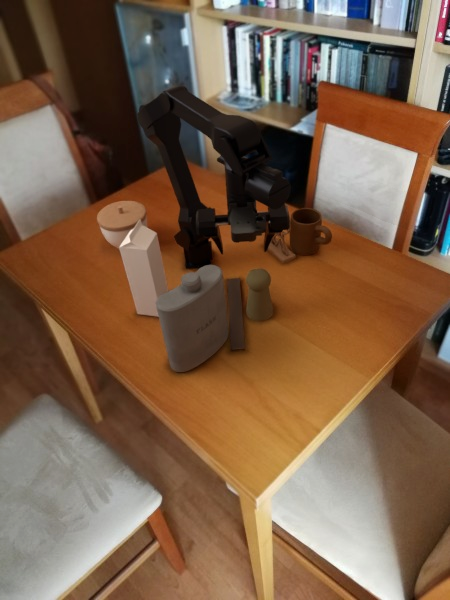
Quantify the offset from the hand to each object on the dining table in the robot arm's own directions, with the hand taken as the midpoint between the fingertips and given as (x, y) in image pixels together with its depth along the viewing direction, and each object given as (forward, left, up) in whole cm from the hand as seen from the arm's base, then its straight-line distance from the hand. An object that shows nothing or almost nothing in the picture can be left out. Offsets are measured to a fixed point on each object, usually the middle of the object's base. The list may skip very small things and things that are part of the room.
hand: (243, 252), depth 102 cm
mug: (+17, +14, -12) cm, 25 cm away
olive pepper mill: (+3, -7, -12) cm, 14 cm away
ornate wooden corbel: (+9, +14, -12) cm, 21 cm away
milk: (-21, -3, -12) cm, 25 cm away
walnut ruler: (-3, -7, -12) cm, 14 cm away
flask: (-10, -17, -12) cm, 23 cm away
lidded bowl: (-30, +23, -12) cm, 40 cm away
